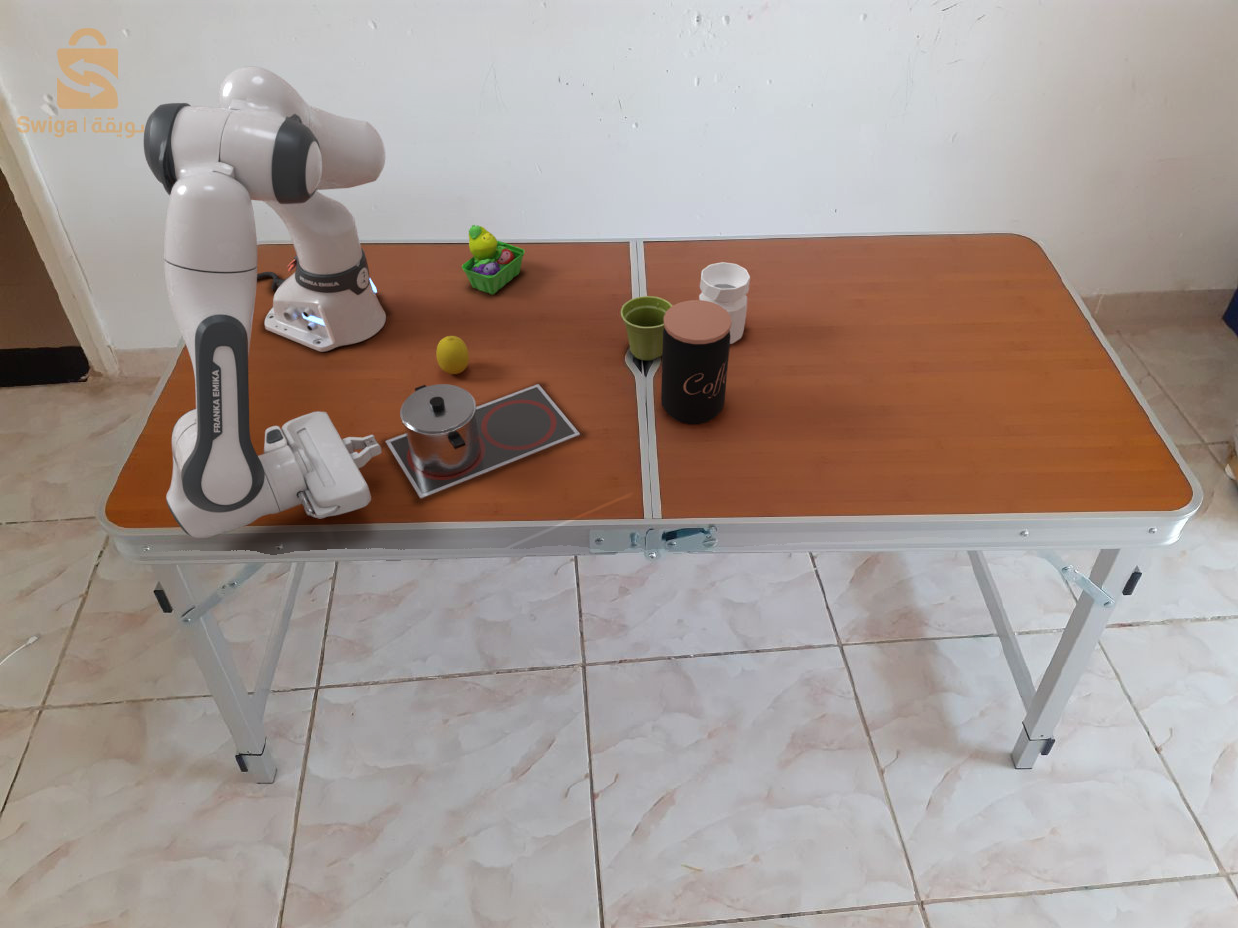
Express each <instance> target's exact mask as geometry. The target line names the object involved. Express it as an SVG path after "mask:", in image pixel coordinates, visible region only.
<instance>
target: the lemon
mask: <svg viewBox="0 0 1238 928" xmlns="http://www.w3.org/2000/svg"><path fill="white" fill-rule="evenodd" d="M435 353H436V354H435V356H436V361H437V364H438V366H439V367H440V369H441V370H442V371H443V372H444V373H446V374H448V375H458V374H461V373H462V372H464V371H465V370H466V368H467V367H468V365H469V362H470V361H469V360H470V355H469V349H468V347H467V345H466V343H465V341H464V340H462V338H461V337H458V336H456V335H448V336H445V337H443V338H442V339H440V341H439V342H438V344H437V346H436V352H435Z"/></svg>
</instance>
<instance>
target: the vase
mask: <svg viewBox="0 0 1238 928" xmlns="http://www.w3.org/2000/svg"><path fill="white" fill-rule="evenodd" d="M700 276H701V277H700V282H699V289H700V291H701V292H700V294H699V296H698V297H699V298H698V300H703V301H709V302H712V303H715V304H717V305H720V306H721V307H723V308H724V309H725V310H727V312H728V313H729V315H730V316H731V322H732V323H731V327H730V345H732V344H734V343H736V342H737V341H739V340H740V339H742V337H743V334H744V330H745V324H746V319H747V318H746V317H747V309H748V296H747V294H748V293H749V290H750V284H751V283H750V281H751V276H750V274H749V272H748V270H747V268H744V267H743V266H741V265H739V264H737V263H732V262H725V261H724V262H723V261H721V262H717V263H712V264H709V265H707V266H706V267H705V268H703V269H702V270H701V275H700Z"/></svg>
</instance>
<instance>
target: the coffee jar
mask: <svg viewBox="0 0 1238 928" xmlns="http://www.w3.org/2000/svg"><path fill="white" fill-rule="evenodd" d="M731 323H732V322H731V316H730V315H729V313H728V312H727V310H725V309H724V308H723V307H721V306H720V305H717V304H715V303H712V302H709V301H703V300H699V299H689V300H685V301H680V302H678V303H675V304H672V307H671V308H669V309H668V310H667V311H666V313H665V315H664V330H663V351H662V355H661V357H662V358H661V387H660V388H661V389H660V390H661V391H660V401H661V406H662V408H663V410H664V411H665V413H666V414H667V415H668V416H669V417H670V418H671V419H672V420H674V421H676V422H678V423H681V424H684V425H689V426H691V425H702V424H706V423H709V422H710V421H712V420H714V419H715V418H716V417H717V416H718V415H719V414H721V412H722V411H723V409H724V406H725V402H726V393H727V392H726V391H727V390H726V389H727V378H728V369H729V357H730V346H731V344H730V327H731Z"/></svg>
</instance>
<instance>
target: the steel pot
mask: <svg viewBox="0 0 1238 928" xmlns="http://www.w3.org/2000/svg"><path fill="white" fill-rule="evenodd" d="M476 407H477V404H476V400H475V398H474V396H473V395H472V394H471V393H470V392H469V391H468V390H466V389H464V388H463V387H460V386H458V385H454V384H447V383H440V384H439V383H437V384H432V385H426V384H422V385H419V386H418V387H417V386H416V387H414V391H413V392H412V393H411V394H410V395H408V397H406V399H405V400H404V401H403V403H402V405H401V407H400V411H399V415H400V416H399V417H400V421H401V423H402V425H403V426H404V429H405V434H407V439H408V443H409V448H410V452H411V457H412V460H413V463H414V464H415V466H416V467H417V468H418V469H420V470H421V471H423V472H425V473H427V474H431V475H436V476H447V475H453V474H456V473H459V472H462V471H464V470H466V469H467V468H469V467H470V466H472V465H473V464H474V463H475V461H476V460H477V459H478V457H479V454H480V442H479V435H478V429H477V422H476V416H475V413H476Z"/></svg>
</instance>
